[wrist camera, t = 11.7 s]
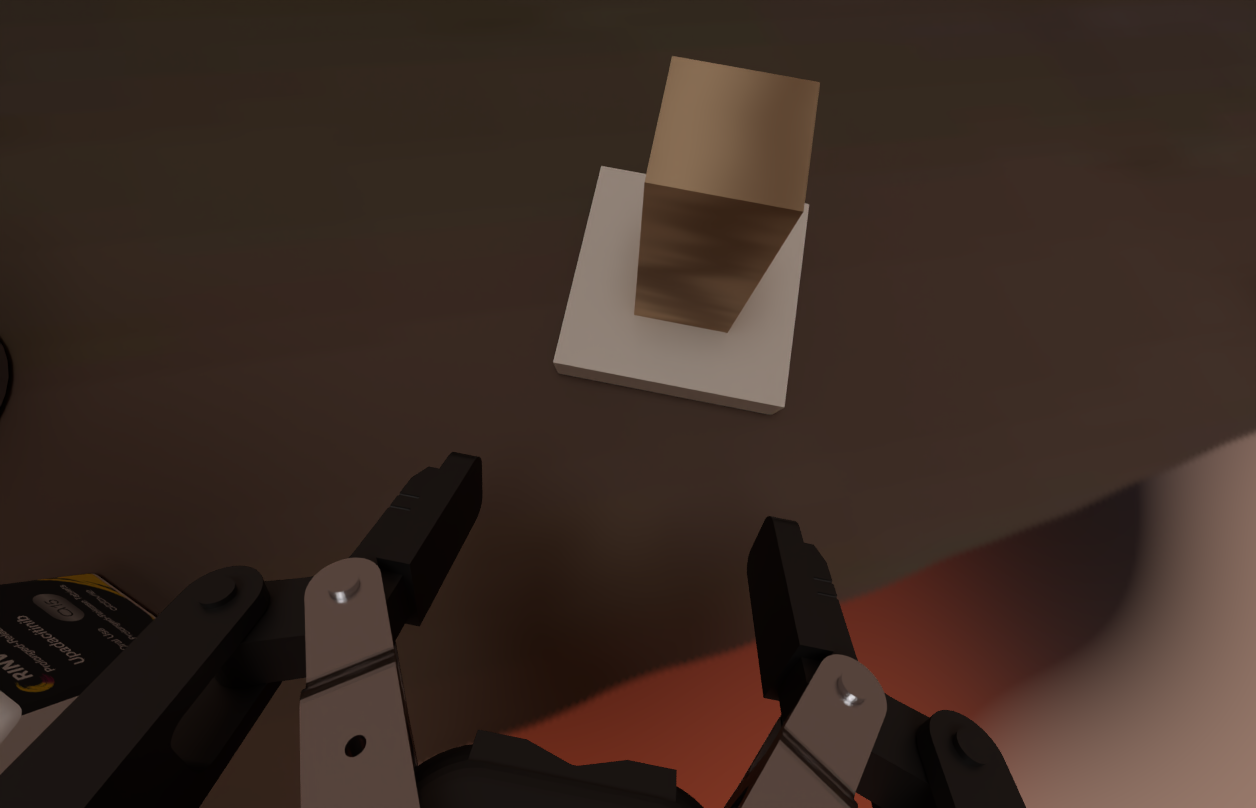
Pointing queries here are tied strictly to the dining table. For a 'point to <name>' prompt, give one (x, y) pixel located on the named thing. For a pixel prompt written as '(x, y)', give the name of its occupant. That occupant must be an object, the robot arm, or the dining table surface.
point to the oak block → (720, 189)
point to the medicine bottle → (56, 649)
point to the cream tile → (665, 351)
